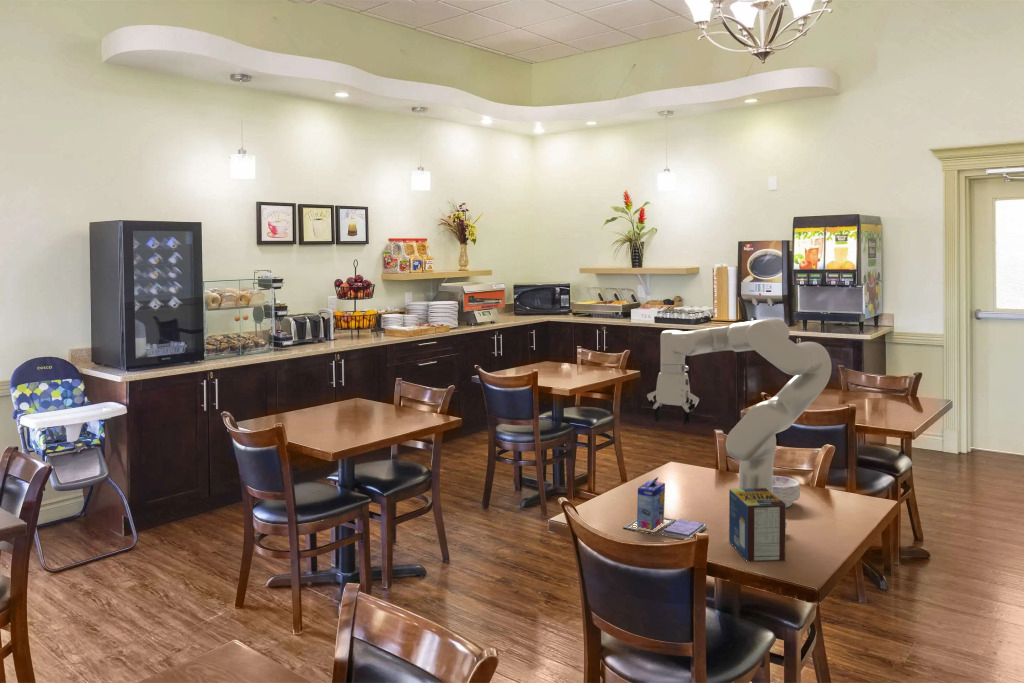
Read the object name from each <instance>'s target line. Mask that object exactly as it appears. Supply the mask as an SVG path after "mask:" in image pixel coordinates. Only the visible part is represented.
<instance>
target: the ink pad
mask: <svg viewBox="0 0 1024 683" xmlns="http://www.w3.org/2000/svg"><path fill="white" fill-rule="evenodd" d="M706 528H707V524H705V523H704V522H699V521H692V520H690V519H689V520H688V519H683V518H679V519H677V520H676V521H675V522H674V523H673V524H671V525H670V526H668V527H667V528H665V529H664V530H662V531H661V535H662V534H663V535H662V536H664V535H667V536H666V537H669V536H670V538H674V539H679V540H684V539H685V538H692V536H693V534H694V533H697V532H700V533H702V532H703V531H704V530H706ZM702 530H703V531H702ZM692 539H693V538H692Z"/></svg>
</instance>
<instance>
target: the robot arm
mask: <svg viewBox="0 0 1024 683" xmlns="http://www.w3.org/2000/svg"><path fill="white" fill-rule="evenodd" d="M723 351H725V352H726V351H733V352H734V353H735V352H737V353H740V352H747V351H748V352H749V351H755V352H756V353H758V354H759V355H760V356H762V358H764V359H765V360H767V362H769V363H770V364H772V365H773V367H774V366H775V367H776V368H777V369H778V370H780V371H781V372H783V373H785V374H787V375H790V376H793V377H792V378H791V379H789V380H788V381H787V383H786V384H785V385H784V386H783V387H782V388H781V389H780V390H779V391H778V392H777V393H776V394H775V395H774V396H773V397H771V398H769V399H767V400H764V401H761V402H759V403H756V404H754V406H752V407H751V408H750V409H749V410H748V411H747V413H746V414H744V415H743V417H742V418H741V419H740V420H739V421H738V422H737V423H736V425H735V426H734V427H733V428H732V429H731V430H730V431H729V432H728V434H727V436H726V439H725V448H726V452H727V454H728V455H729V456H730V457H731V458H732V459H734V460H737V461H739V469H738V489H741V488H766V489H767V490H768V491H770V492H771V493H772V494H773V476H774V461H775V460H774V459H775V454H776V449H777V437H776V434H778V433H781V432H783V431H786V430H788V429H789V428H790V427H792V425H793V424H795V422H796V420H797V419H798V418H799V417H800V416H801V415H802V414H803V413H804V412H805V411H806V410H807V409H808V408H809V407H810V406H811V404H812V403H813V402H814V401H815V400H816V398H817V397H818V396H819V395H820V394H821V393H822V392H823V391H824V389H825V388H826V386H827V384H828V383H829V381H830V378H831V375H832V360H831V357H830V354H829V352H828V351H827V349H826V347H824V346H823V345H822V344H820V343H819V342H815V341H802V342H799V343H795V342H794V341H793V340H791V339H790V328H789V326H788V324H787V323H786V322H785V321H784V320H782V319H780V318H771V317H770V318H765V319H764V318H762V319H758V320H750V321H743V322H735V323H731V324H730V325H726V326H719V327H711V328H703V329H696V330H695V329H694V330H693V329H692V330H688V331H683V330H679V329H666V330H663V331H662V332H661V333H660V372H659V373H658V375H657V379H656V389H655V390H654V391H652V392H649V393H647V395H646V398H647V399H648V401H649V404H650V405H651V406H652V409H654V418H655V422H659V421H661V420H662V405H667V406H669V405H670V406H681V407H682V408H683V410H684V412H683V425H689V424H691V421H692V411H693V410H694V409H695V408H696V407H697V405H698V404H699V401H700V398H699V397H698V396H696V395H695V394H693V393H692V392H691V389H690V381H689V380H690V379H689V375H688V373H686V371H689V370H690V367H689V366H687V365H686V363H685V362H686V360H685V359H686V356H687V357H689V356H691V357H692V356H696V355H701V354H709V353H714V352H715V353H716V352H723ZM654 396H655V399H654ZM691 400H692V403H691V404H690V402H691ZM787 526H788V524H787V521H786V528H787Z"/></svg>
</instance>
